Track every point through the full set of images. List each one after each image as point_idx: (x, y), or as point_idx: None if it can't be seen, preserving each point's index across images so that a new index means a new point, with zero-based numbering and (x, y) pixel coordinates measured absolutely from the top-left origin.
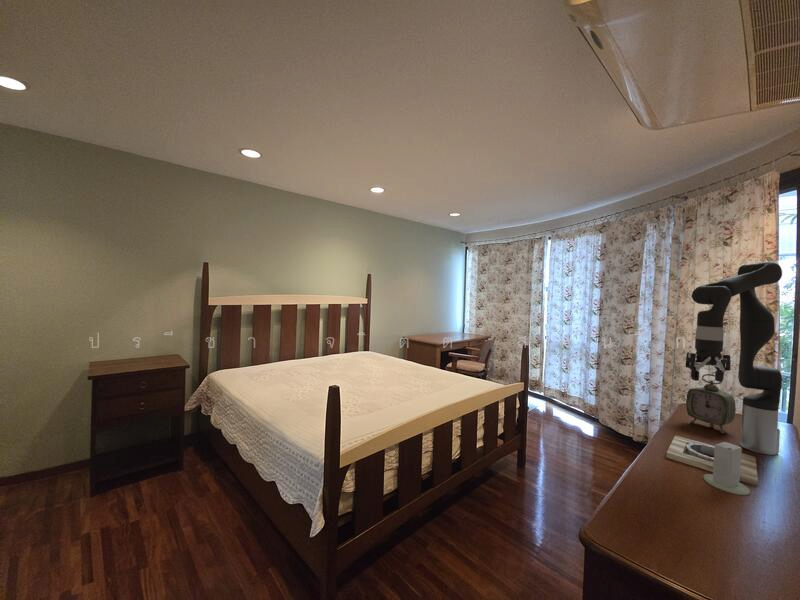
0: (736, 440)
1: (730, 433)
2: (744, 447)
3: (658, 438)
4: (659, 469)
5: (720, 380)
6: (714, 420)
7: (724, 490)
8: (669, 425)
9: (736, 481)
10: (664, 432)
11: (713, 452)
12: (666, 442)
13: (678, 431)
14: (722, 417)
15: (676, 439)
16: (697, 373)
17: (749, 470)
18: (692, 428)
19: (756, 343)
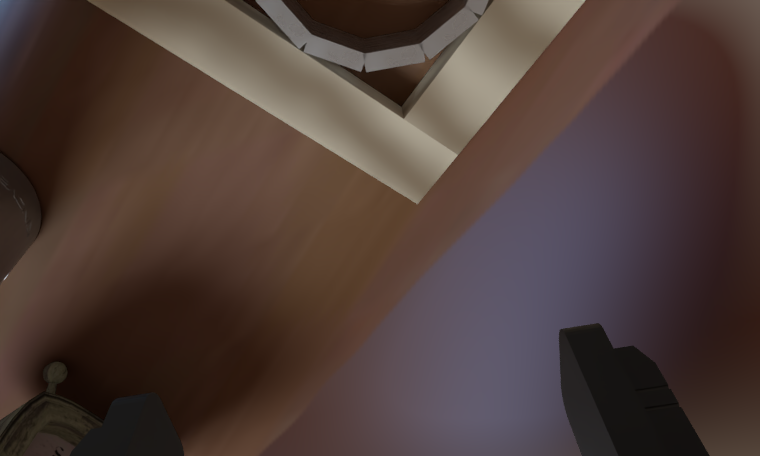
0: (26, 297)
1: (10, 383)
2: (36, 197)
3: (506, 185)
4: None
5: (146, 403)
6: (73, 425)
7: None
8: (309, 392)
9: None
10: (405, 287)
11: (307, 18)
12: (494, 138)
13: (307, 325)
14: (28, 432)
15: (452, 138)
16: (648, 430)
17: None
18: (195, 389)
19: None
